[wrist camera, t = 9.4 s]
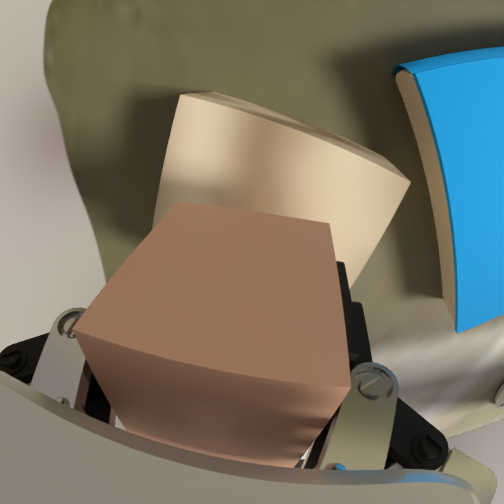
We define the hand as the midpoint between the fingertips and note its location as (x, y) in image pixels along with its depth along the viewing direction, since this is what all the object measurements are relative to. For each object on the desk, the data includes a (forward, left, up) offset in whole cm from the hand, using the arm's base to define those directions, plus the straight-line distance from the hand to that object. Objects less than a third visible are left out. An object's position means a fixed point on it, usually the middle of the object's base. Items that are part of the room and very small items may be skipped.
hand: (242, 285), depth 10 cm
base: (0, 0, -9) cm, 9 cm away
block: (0, 0, -1) cm, 1 cm away
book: (-21, -8, -9) cm, 24 cm away
